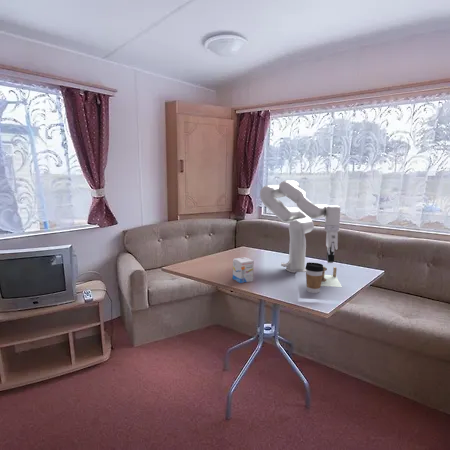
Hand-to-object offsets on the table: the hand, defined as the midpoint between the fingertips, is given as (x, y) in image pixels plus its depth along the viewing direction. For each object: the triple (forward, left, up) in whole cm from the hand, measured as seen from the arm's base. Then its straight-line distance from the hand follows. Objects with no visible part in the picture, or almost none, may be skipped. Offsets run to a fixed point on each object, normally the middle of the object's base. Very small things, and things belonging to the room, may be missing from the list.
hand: (330, 260), depth 172 cm
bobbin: (-6, -8, -9) cm, 13 cm away
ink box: (-47, -12, -11) cm, 50 cm away
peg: (0, 0, -1) cm, 1 cm away
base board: (-3, -8, -11) cm, 13 cm away
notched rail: (-2, 0, -9) cm, 9 cm away
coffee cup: (-11, -25, -11) cm, 30 cm away
